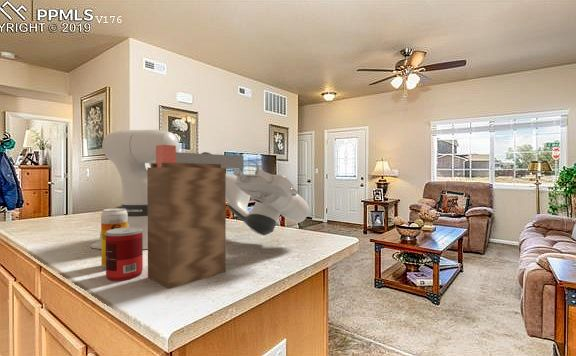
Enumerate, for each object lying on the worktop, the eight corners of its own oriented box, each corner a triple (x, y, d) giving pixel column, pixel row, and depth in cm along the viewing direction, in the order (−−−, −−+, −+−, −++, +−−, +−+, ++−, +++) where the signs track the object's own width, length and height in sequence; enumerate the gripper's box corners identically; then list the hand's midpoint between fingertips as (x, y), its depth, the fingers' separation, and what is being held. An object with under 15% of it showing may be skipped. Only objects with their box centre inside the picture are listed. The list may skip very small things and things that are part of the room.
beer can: (104, 270, 77) (104, 211, 76) (99, 265, 81) (98, 209, 81) (130, 266, 81) (130, 209, 80) (124, 261, 85) (124, 207, 85)
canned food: (148, 270, 77) (148, 227, 77) (131, 281, 69) (130, 233, 69) (119, 269, 78) (118, 226, 77) (98, 281, 70) (97, 233, 69)
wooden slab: (203, 263, 83) (203, 164, 83) (225, 271, 77) (225, 164, 76) (147, 277, 72) (147, 163, 71) (168, 288, 65) (168, 162, 65)
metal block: (235, 168, 87) (235, 151, 87) (243, 168, 85) (243, 150, 84) (155, 167, 70) (155, 145, 70) (163, 167, 67) (163, 144, 67)
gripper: (297, 204, 88) (267, 181, 79) (250, 200, 102) (220, 180, 93) (304, 185, 90) (276, 161, 81) (257, 183, 104) (228, 162, 95)
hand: (246, 171), depth 87 cm, fingers open, 8 cm apart
